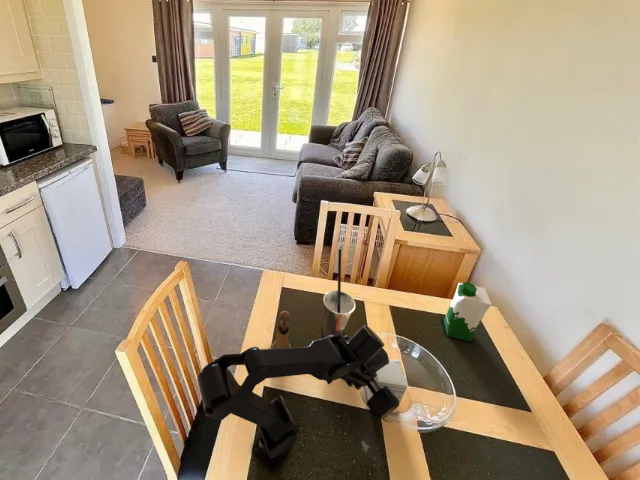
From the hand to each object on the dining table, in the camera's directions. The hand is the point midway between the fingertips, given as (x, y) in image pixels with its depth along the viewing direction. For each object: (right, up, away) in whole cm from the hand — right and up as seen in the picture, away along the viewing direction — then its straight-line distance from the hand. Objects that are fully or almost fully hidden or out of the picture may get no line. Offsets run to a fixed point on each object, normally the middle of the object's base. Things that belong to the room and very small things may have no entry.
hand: (376, 380), depth 83 cm
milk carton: (+39, +1, +28) cm, 47 cm away
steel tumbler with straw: (-6, +1, +25) cm, 26 cm away
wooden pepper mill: (-24, -2, +18) cm, 30 cm away
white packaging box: (+3, -9, +6) cm, 11 cm away
